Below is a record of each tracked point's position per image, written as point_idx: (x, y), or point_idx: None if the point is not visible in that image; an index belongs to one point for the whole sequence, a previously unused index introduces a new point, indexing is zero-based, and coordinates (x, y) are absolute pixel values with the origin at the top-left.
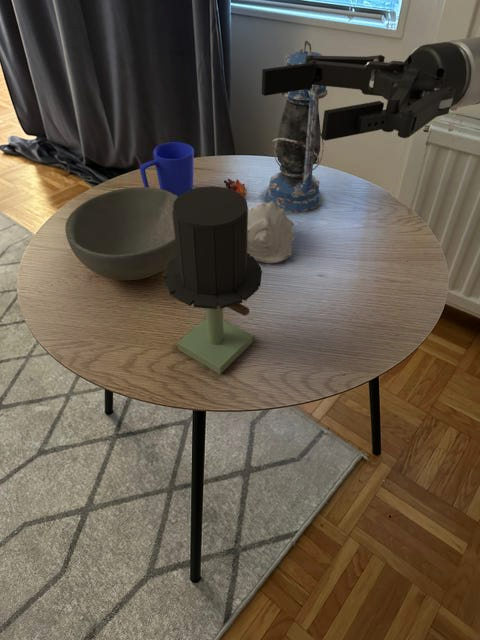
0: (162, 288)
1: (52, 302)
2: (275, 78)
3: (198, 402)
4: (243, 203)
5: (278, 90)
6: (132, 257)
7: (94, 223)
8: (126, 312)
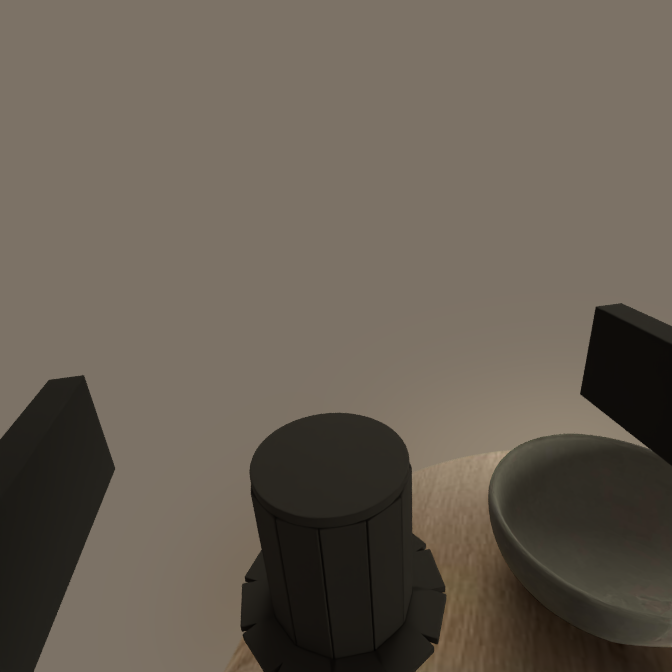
0: (525, 624)
1: (477, 478)
2: (626, 361)
3: (238, 652)
4: (313, 510)
5: (629, 419)
6: (493, 514)
7: (635, 485)
8: (455, 562)
